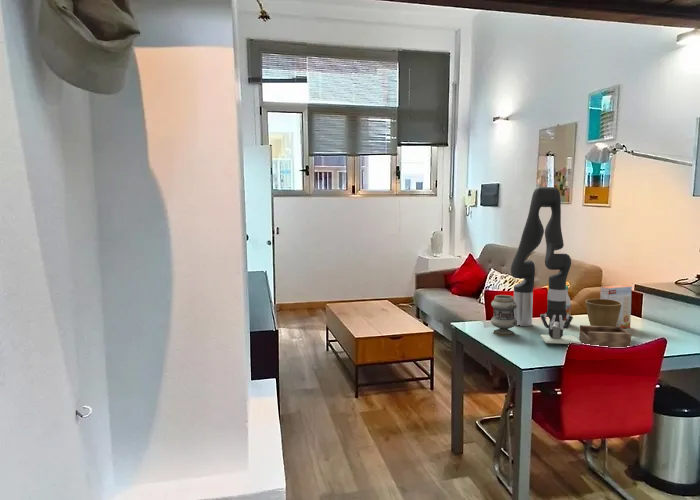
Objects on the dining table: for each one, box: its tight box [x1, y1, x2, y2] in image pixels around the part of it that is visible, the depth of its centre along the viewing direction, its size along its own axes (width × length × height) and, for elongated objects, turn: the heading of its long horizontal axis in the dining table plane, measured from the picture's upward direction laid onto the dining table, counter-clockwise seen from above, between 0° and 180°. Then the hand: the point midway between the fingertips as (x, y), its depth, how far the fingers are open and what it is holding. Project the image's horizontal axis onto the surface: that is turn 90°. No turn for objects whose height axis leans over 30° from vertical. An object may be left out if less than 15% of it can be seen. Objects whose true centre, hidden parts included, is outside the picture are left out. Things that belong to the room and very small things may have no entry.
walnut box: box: [578, 324, 632, 347], centre depth 207 cm, size 17×13×7 cm
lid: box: [540, 325, 582, 345], centre depth 210 cm, size 14×10×6 cm
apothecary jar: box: [490, 294, 518, 337], centre depth 228 cm, size 12×12×18 cm
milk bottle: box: [554, 285, 572, 326], centre depth 244 cm, size 8×8×20 cm
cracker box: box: [599, 284, 632, 329], centre depth 237 cm, size 14×6×21 cm, turn 106°
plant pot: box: [585, 298, 622, 326], centre depth 223 cm, size 15×15×16 cm
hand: (555, 337), depth 210 cm, fingers closed on lid, 3 cm apart
